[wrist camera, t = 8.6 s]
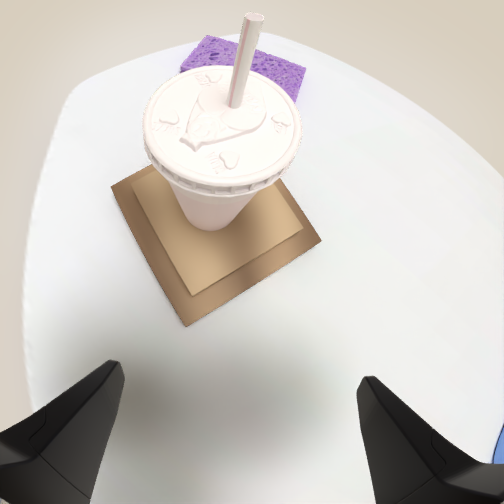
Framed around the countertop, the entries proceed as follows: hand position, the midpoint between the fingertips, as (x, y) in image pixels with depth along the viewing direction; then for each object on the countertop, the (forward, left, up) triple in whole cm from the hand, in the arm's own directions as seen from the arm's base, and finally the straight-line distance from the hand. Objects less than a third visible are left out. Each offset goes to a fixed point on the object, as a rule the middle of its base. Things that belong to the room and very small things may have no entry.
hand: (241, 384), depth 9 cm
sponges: (+16, +22, -12) cm, 30 cm away
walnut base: (+5, +9, -11) cm, 15 cm away
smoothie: (+5, +9, -9) cm, 13 cm away
